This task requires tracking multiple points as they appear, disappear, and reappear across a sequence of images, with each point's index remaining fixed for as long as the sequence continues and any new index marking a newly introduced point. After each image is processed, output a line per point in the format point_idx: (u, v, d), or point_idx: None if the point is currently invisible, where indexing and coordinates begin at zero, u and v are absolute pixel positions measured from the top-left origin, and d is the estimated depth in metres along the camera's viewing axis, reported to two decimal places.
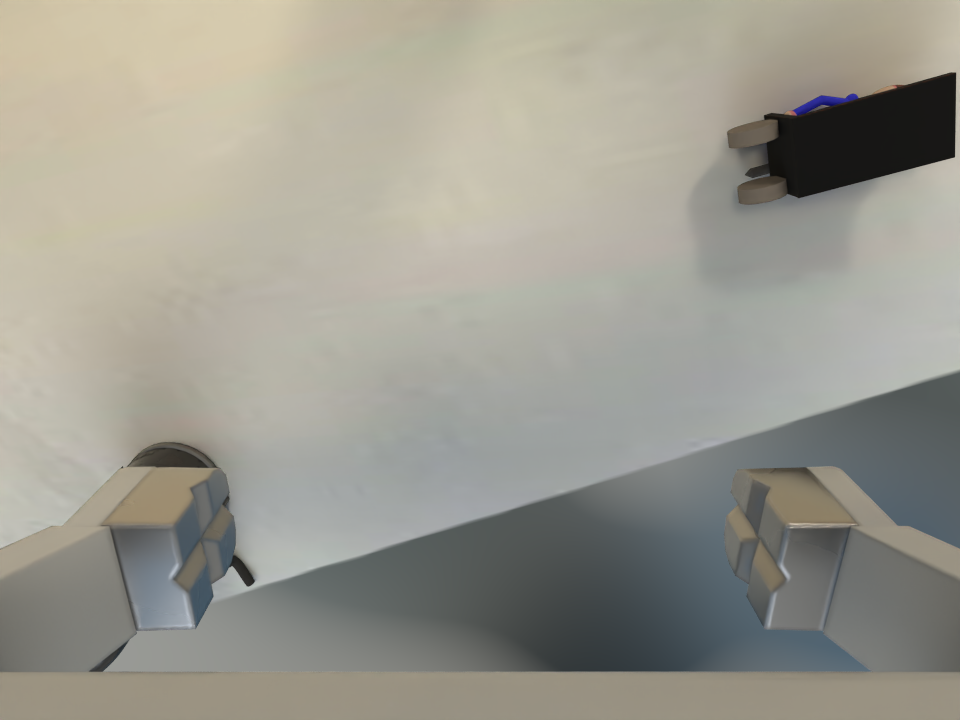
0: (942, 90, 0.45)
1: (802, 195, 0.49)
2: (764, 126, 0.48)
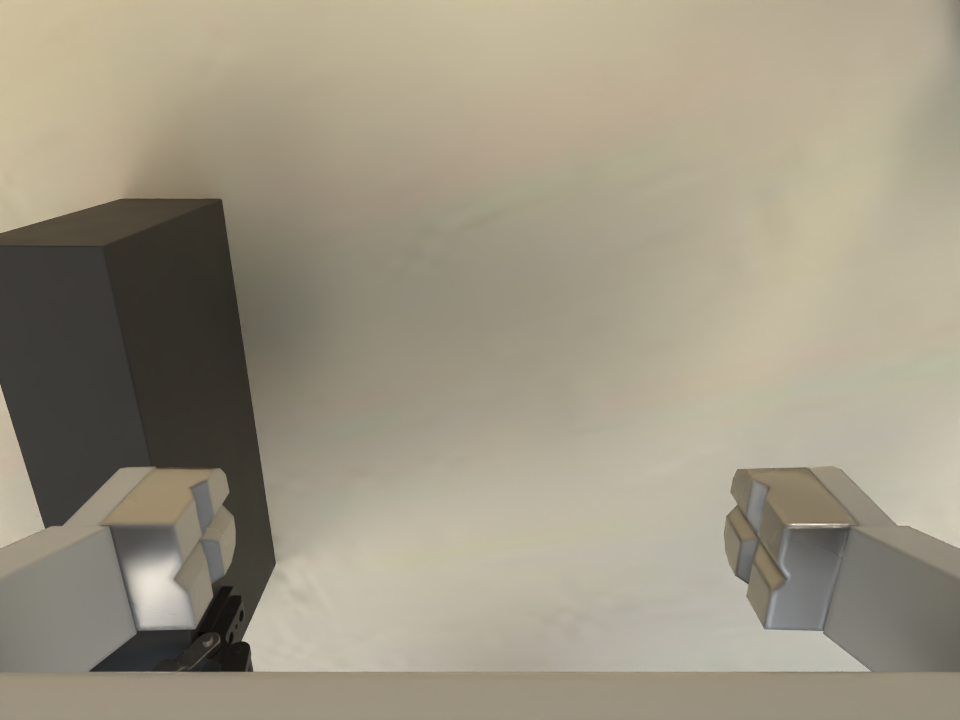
0: None
1: None
2: None
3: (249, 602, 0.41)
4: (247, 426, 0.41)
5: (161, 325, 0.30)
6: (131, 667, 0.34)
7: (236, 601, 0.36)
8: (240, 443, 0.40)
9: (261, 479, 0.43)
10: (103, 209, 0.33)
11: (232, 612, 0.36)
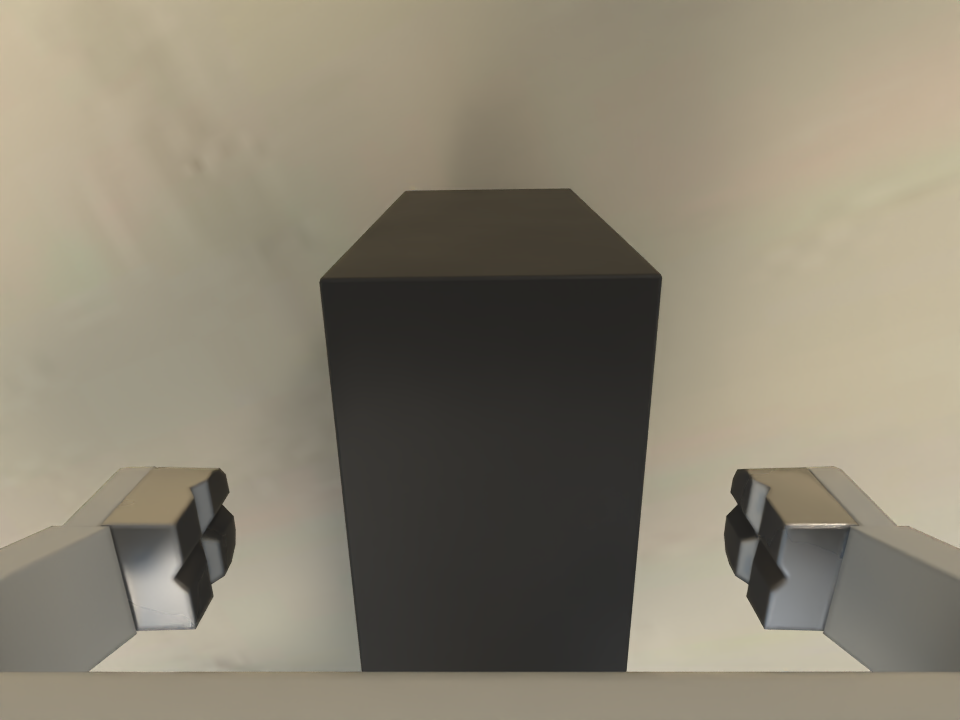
0: None
1: None
2: None
3: None
4: None
5: None
6: None
7: None
8: None
9: None
10: (425, 205, 0.19)
11: None
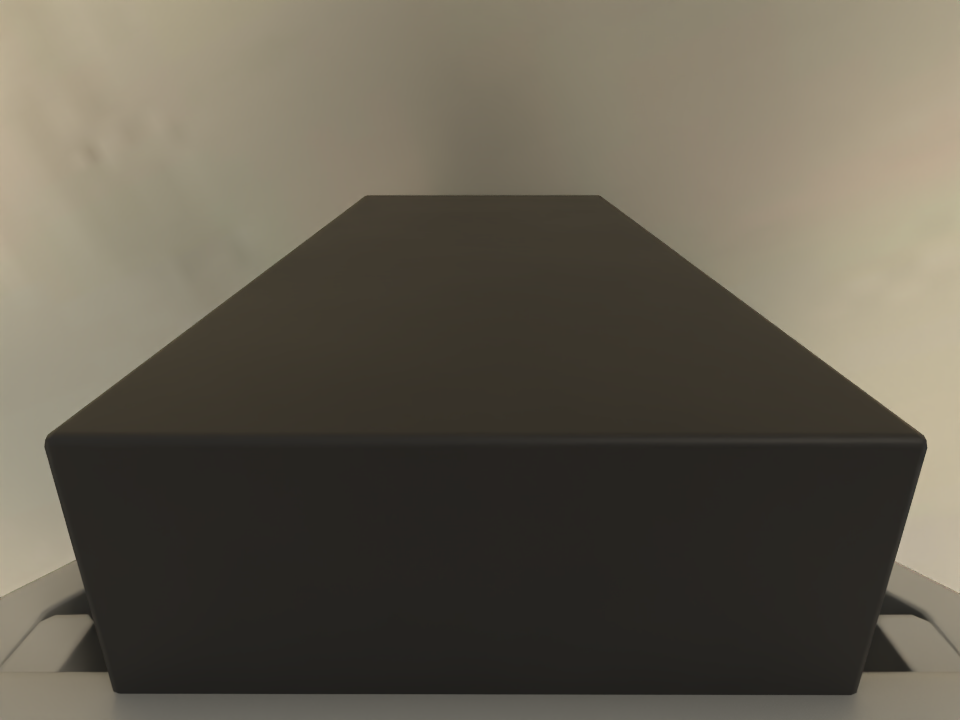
0: None
1: None
2: None
3: None
4: None
5: None
6: None
7: None
8: None
9: None
10: (386, 219, 0.12)
11: None
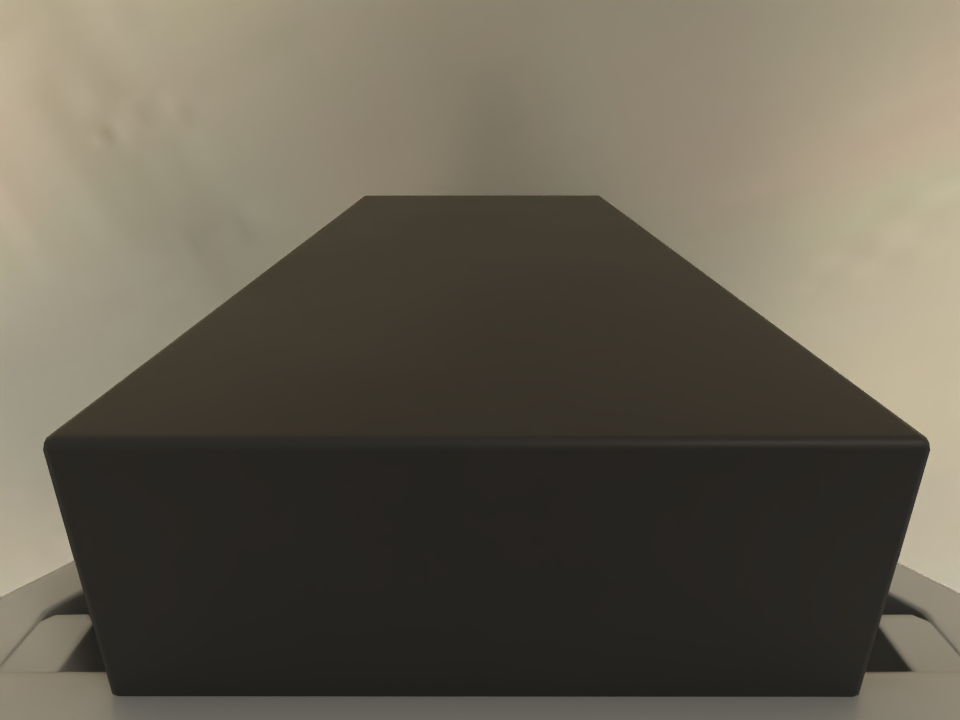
0: None
1: None
2: None
3: None
4: None
5: None
6: None
7: None
8: None
9: None
10: (385, 220, 0.12)
11: None
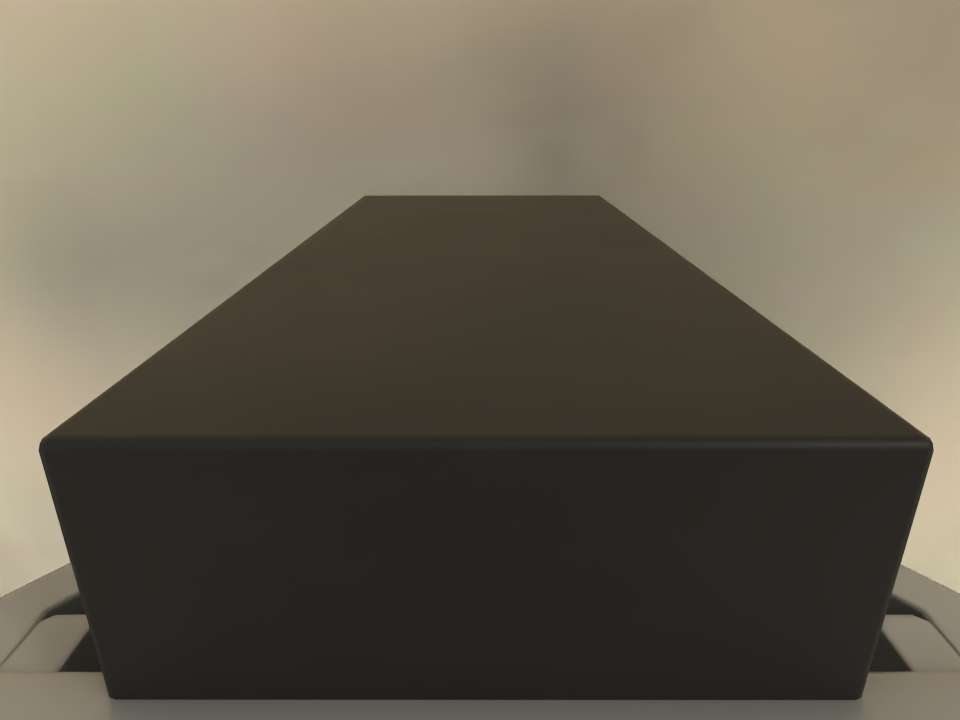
0: None
1: None
2: None
3: None
4: None
5: None
6: None
7: None
8: None
9: None
10: (384, 220, 0.12)
11: None
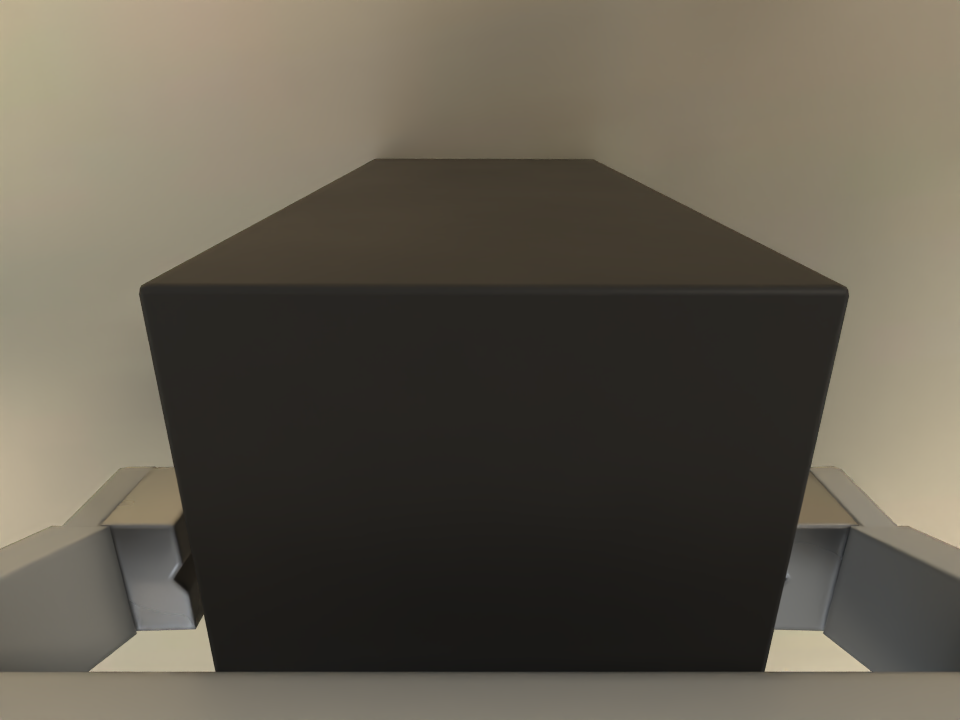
0: None
1: None
2: None
3: None
4: None
5: None
6: None
7: None
8: None
9: None
10: (395, 173, 0.13)
11: None
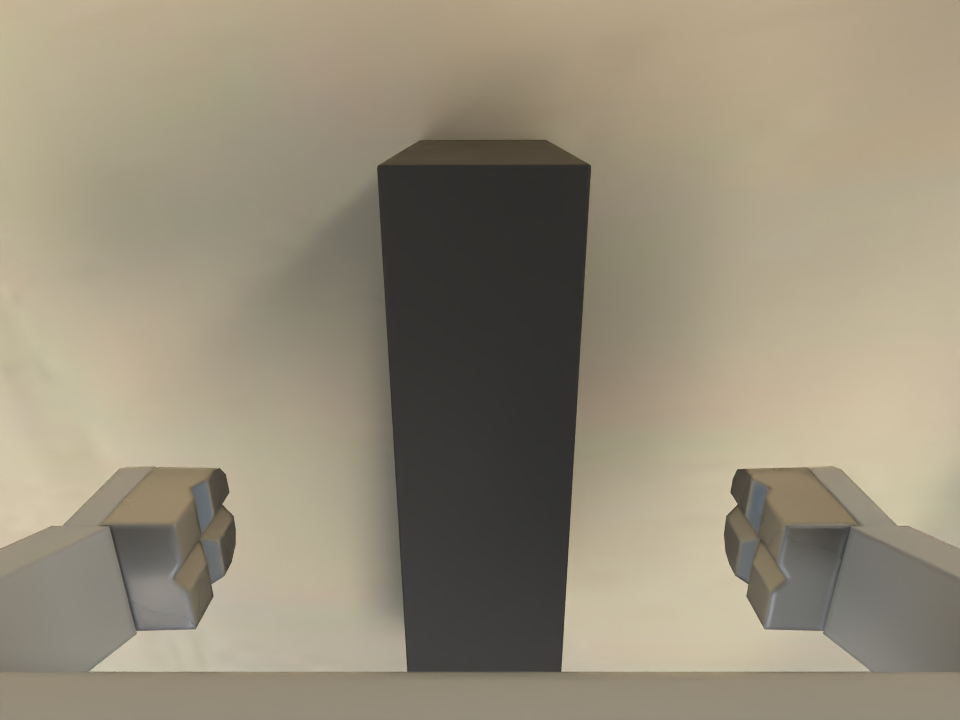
0: None
1: None
2: None
3: None
4: None
5: None
6: None
7: None
8: None
9: None
10: (436, 145, 0.25)
11: None
